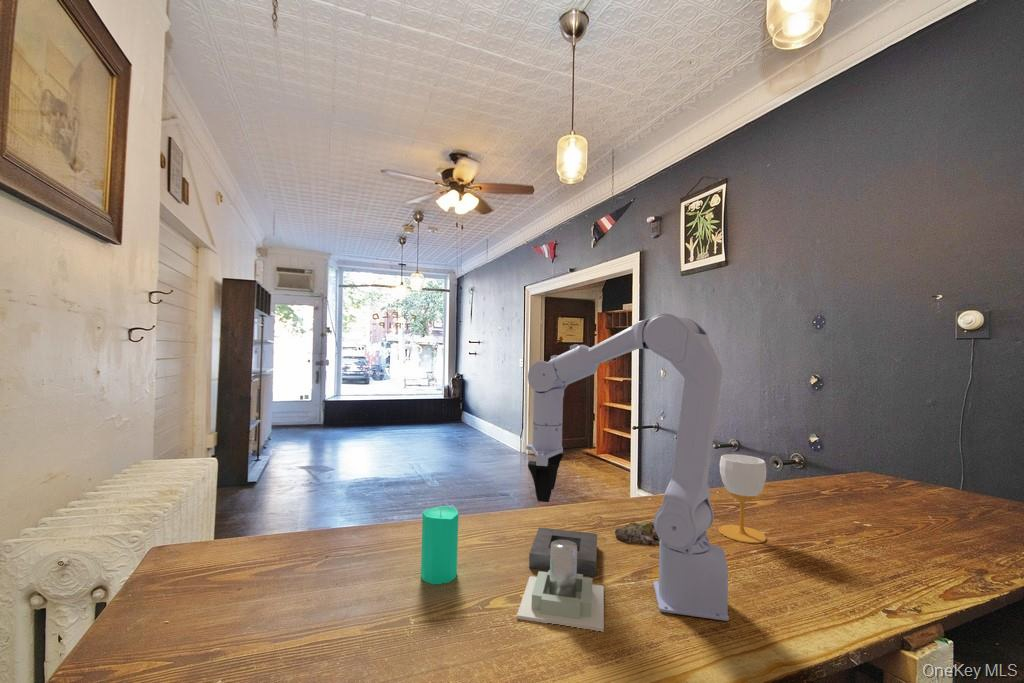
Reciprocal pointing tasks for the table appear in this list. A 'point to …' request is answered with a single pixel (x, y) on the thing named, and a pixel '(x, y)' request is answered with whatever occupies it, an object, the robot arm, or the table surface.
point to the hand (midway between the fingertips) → (546, 494)
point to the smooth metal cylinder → (563, 568)
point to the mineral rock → (638, 533)
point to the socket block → (545, 536)
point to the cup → (742, 491)
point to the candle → (439, 544)
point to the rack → (563, 603)
